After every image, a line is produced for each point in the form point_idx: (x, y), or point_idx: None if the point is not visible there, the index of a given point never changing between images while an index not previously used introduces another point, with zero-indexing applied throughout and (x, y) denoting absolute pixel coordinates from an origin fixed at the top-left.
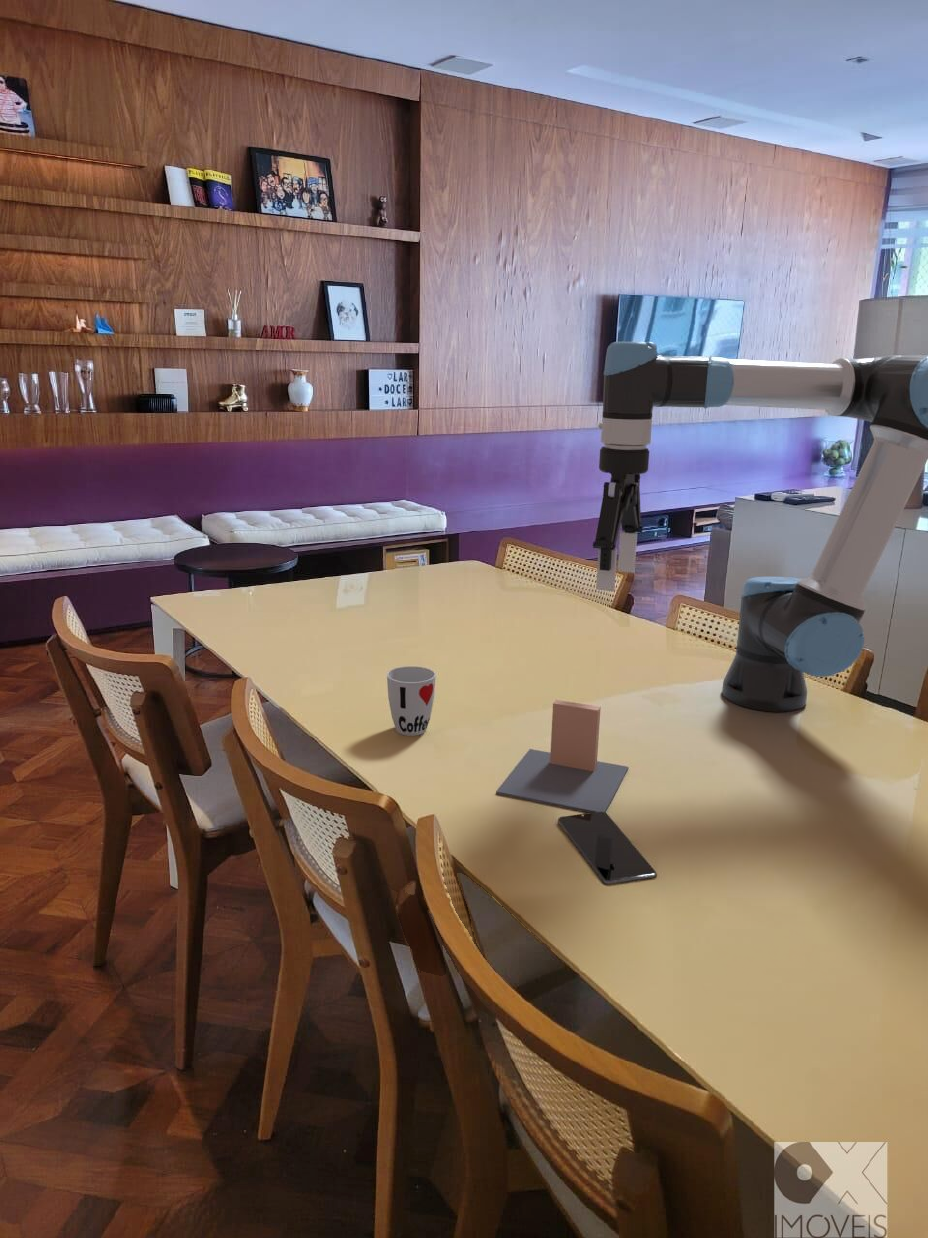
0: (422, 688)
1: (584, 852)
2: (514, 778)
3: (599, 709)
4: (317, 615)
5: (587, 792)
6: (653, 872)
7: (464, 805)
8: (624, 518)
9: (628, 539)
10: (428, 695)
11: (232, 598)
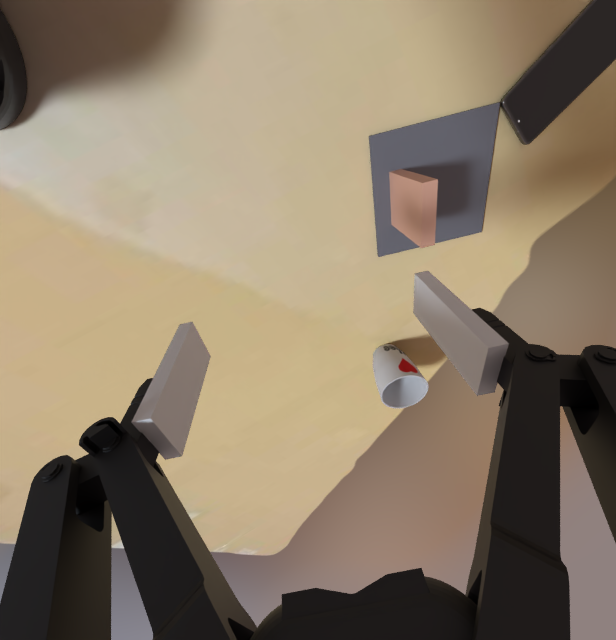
0: (416, 371)
1: (598, 75)
2: (449, 232)
3: (428, 181)
4: (224, 510)
5: (456, 148)
6: None
7: (508, 241)
8: (181, 511)
9: (172, 415)
10: (405, 364)
11: (242, 543)
